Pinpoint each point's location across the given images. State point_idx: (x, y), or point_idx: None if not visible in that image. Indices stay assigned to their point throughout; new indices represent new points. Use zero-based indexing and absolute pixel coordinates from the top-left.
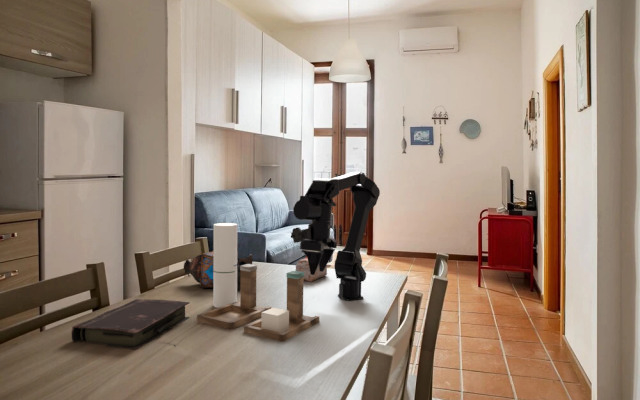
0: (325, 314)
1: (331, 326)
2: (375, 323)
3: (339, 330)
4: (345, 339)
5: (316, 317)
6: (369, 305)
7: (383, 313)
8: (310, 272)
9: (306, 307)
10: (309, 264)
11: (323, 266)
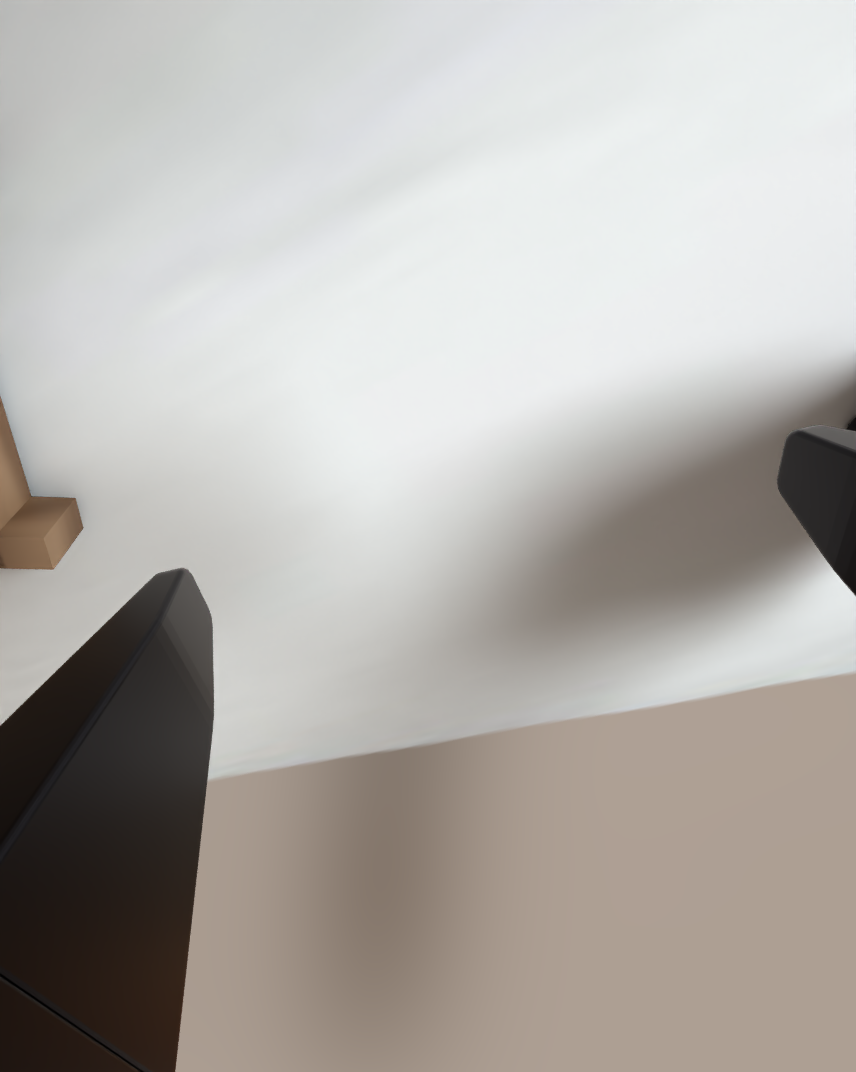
0: (381, 435)
1: None
2: (379, 739)
3: None
4: None
5: (11, 562)
6: (746, 605)
7: (587, 715)
8: (136, 597)
9: (503, 149)
10: (5, 746)
11: (847, 548)
